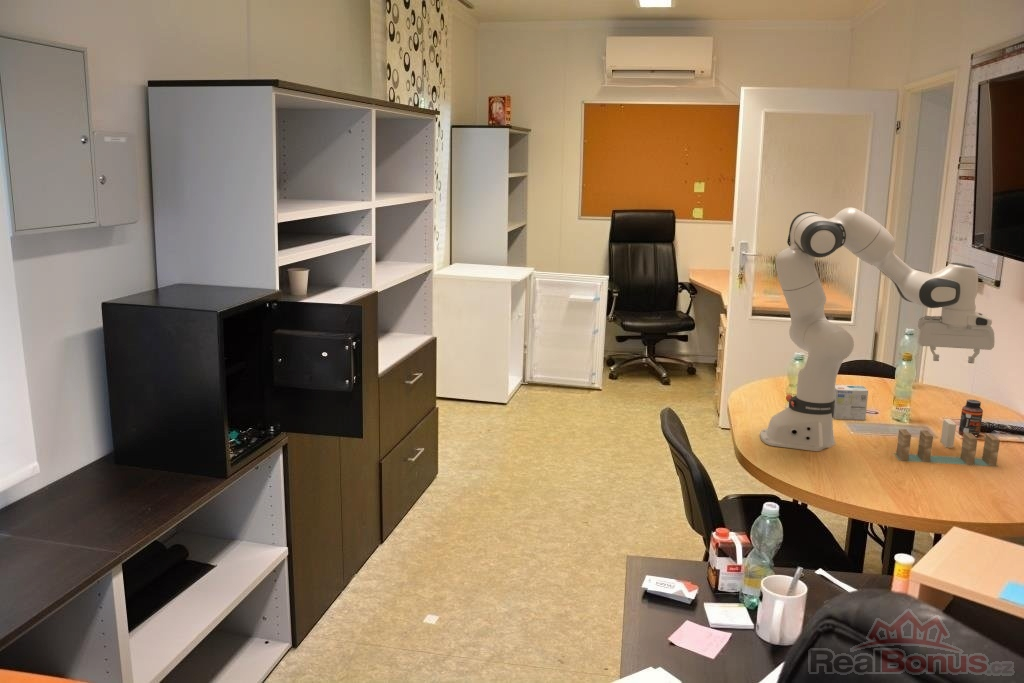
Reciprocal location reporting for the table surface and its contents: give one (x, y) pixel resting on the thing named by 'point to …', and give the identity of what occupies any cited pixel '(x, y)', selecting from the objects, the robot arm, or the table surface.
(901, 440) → the domino
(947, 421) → the domino
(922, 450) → the domino
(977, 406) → the supplement bottle
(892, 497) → the table surface
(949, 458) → the felt runner
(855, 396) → the light bulb box
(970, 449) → the domino
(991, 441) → the domino
